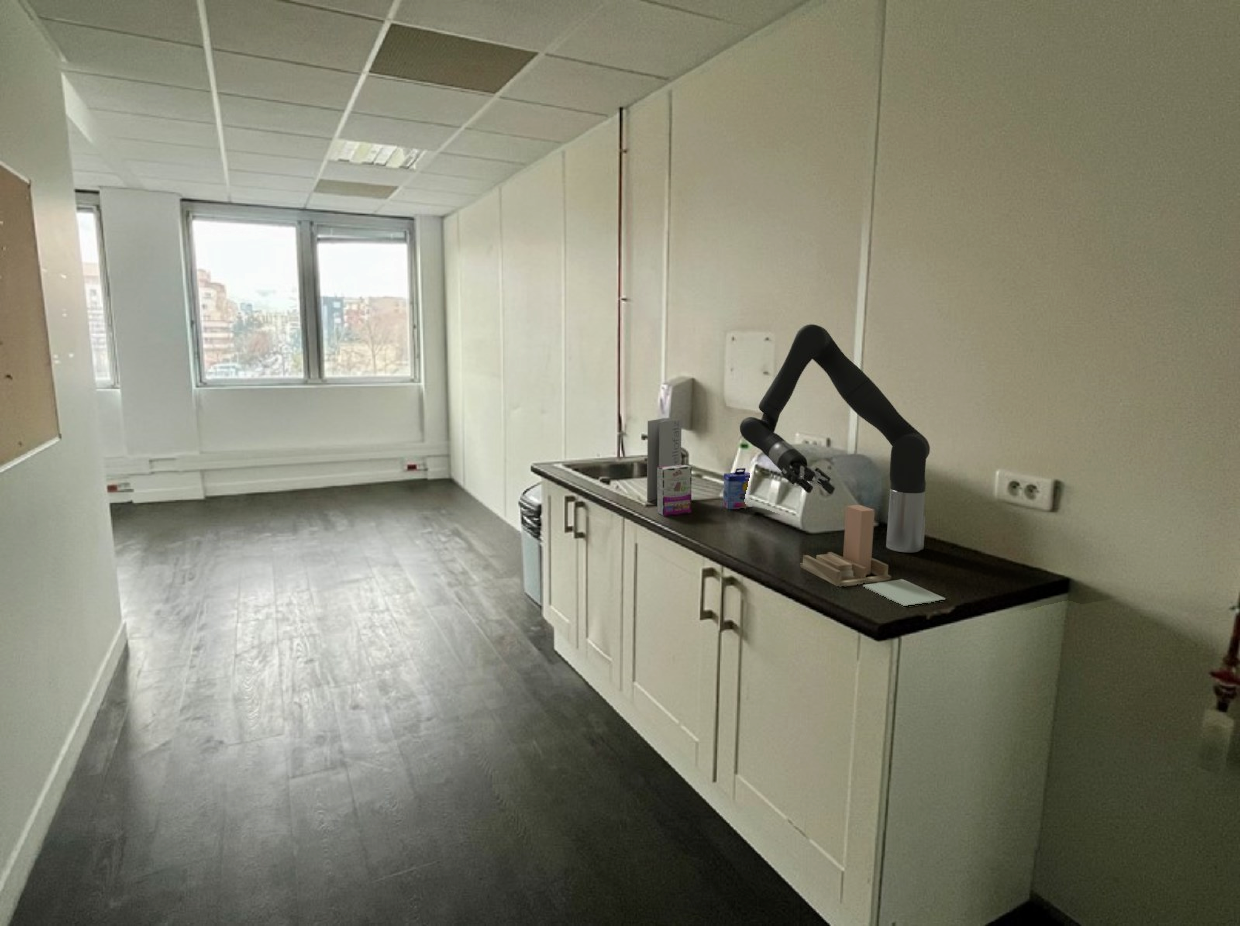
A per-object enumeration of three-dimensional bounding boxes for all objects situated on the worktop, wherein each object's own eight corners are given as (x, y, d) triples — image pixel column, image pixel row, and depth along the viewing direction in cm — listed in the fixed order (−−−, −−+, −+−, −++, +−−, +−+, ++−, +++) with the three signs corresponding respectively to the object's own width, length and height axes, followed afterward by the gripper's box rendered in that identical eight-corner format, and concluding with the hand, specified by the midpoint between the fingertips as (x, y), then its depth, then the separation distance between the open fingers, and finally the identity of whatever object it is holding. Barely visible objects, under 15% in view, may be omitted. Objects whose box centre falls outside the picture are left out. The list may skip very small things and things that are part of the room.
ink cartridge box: (727, 509, 248) (729, 469, 245) (721, 506, 253) (722, 466, 250) (753, 508, 250) (755, 468, 248) (747, 504, 255) (748, 465, 253)
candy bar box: (684, 510, 248) (685, 464, 245) (691, 513, 243) (692, 466, 240) (656, 513, 243) (656, 466, 240) (662, 516, 239) (663, 468, 236)
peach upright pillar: (855, 567, 187) (858, 504, 184) (870, 574, 181) (874, 509, 178) (842, 568, 185) (846, 505, 182) (857, 576, 180) (861, 511, 177)
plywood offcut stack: (828, 568, 187) (828, 552, 186) (854, 581, 176) (855, 565, 176) (813, 569, 185) (814, 554, 184) (839, 583, 175) (840, 567, 174)
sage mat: (902, 581, 176) (902, 579, 176) (945, 600, 163) (945, 598, 163) (862, 586, 172) (863, 584, 172) (904, 607, 159) (904, 605, 159)
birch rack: (848, 560, 192) (849, 548, 191) (890, 579, 177) (891, 566, 176) (799, 566, 187) (800, 554, 186) (839, 587, 172) (840, 573, 171)
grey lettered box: (659, 504, 256) (660, 422, 251) (646, 502, 259) (647, 421, 254) (680, 497, 267) (681, 418, 262) (668, 495, 270) (669, 417, 265)
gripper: (774, 446, 200) (809, 478, 189) (810, 449, 208) (845, 480, 196) (763, 468, 204) (797, 501, 192) (799, 470, 211) (833, 502, 199)
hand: (821, 490), depth 194 cm, fingers open, 8 cm apart
